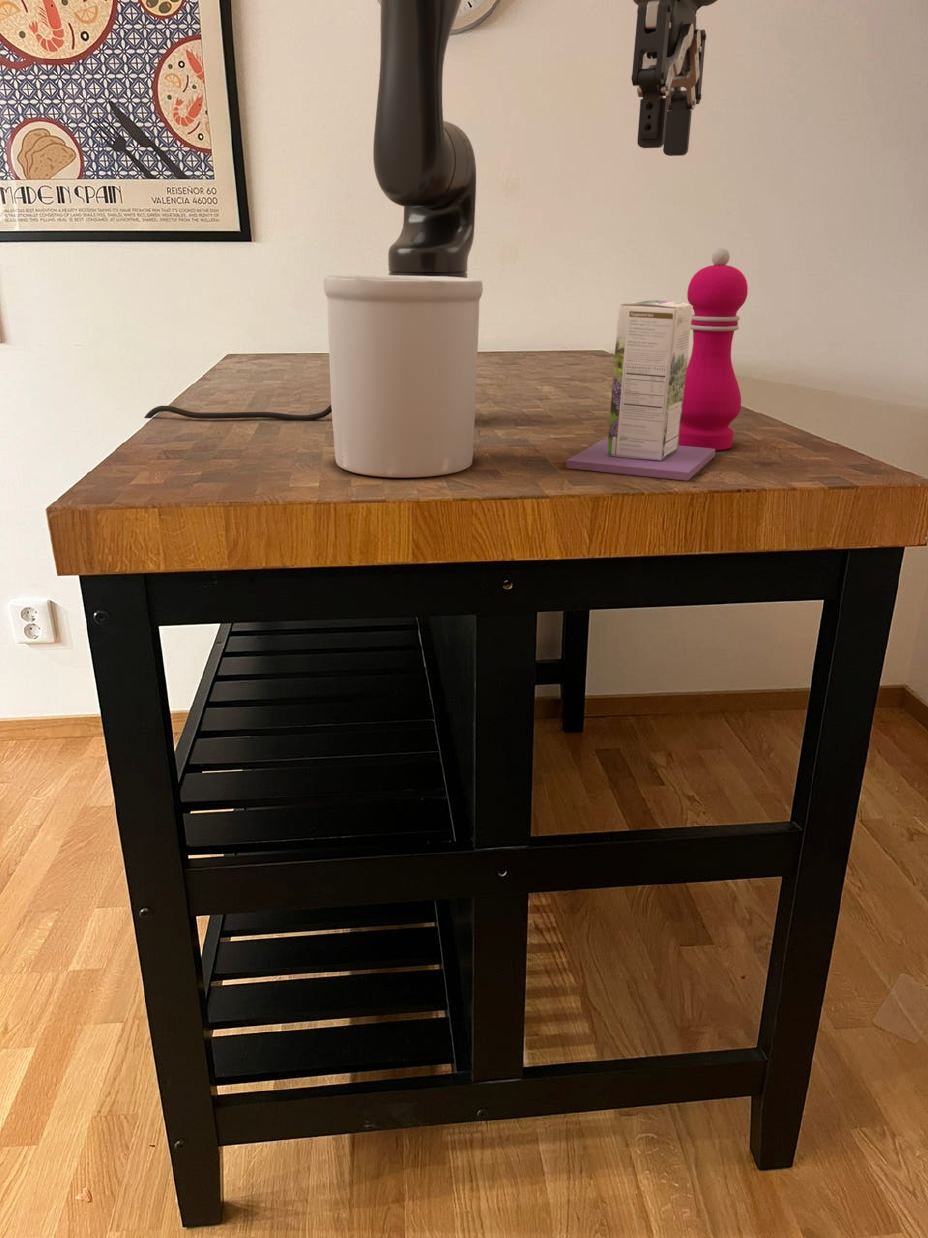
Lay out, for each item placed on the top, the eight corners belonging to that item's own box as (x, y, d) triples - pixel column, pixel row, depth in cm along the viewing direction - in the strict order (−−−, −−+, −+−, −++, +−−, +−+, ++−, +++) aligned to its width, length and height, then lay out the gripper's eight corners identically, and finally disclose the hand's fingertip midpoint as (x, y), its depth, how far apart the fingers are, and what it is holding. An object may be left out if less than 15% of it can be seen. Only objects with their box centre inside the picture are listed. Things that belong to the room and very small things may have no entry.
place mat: (565, 468, 91) (566, 459, 91) (603, 445, 101) (603, 438, 101) (687, 480, 86) (688, 472, 86) (714, 456, 96) (715, 448, 96)
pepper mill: (738, 453, 97) (761, 248, 90) (668, 450, 99) (685, 248, 91) (734, 440, 104) (755, 248, 96) (668, 437, 105) (684, 247, 98)
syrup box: (624, 446, 97) (634, 299, 91) (680, 451, 94) (693, 301, 89) (606, 456, 92) (615, 302, 87) (664, 462, 90) (677, 304, 84)
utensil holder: (466, 446, 101) (467, 273, 94) (494, 477, 87) (497, 278, 81) (329, 450, 98) (320, 273, 92) (335, 483, 85) (325, 279, 78)
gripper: (659, -38, 85) (644, 158, 91) (611, -85, 73) (598, 145, 79) (743, -48, 82) (721, 157, 88) (707, -97, 70) (685, 143, 76)
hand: (663, 151), depth 84 cm, fingers open, 8 cm apart
